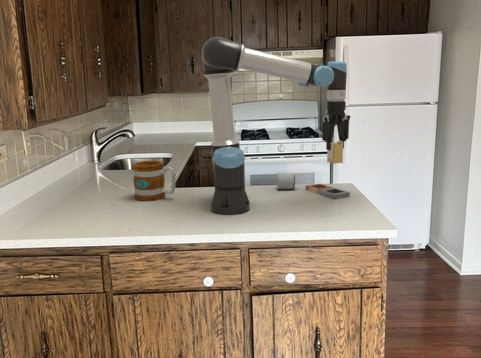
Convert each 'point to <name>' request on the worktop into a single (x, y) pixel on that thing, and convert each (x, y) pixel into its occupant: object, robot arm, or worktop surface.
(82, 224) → the worktop surface
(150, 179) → the mug
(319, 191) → the grey slotted board
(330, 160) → the block
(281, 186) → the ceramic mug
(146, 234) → the worktop surface
